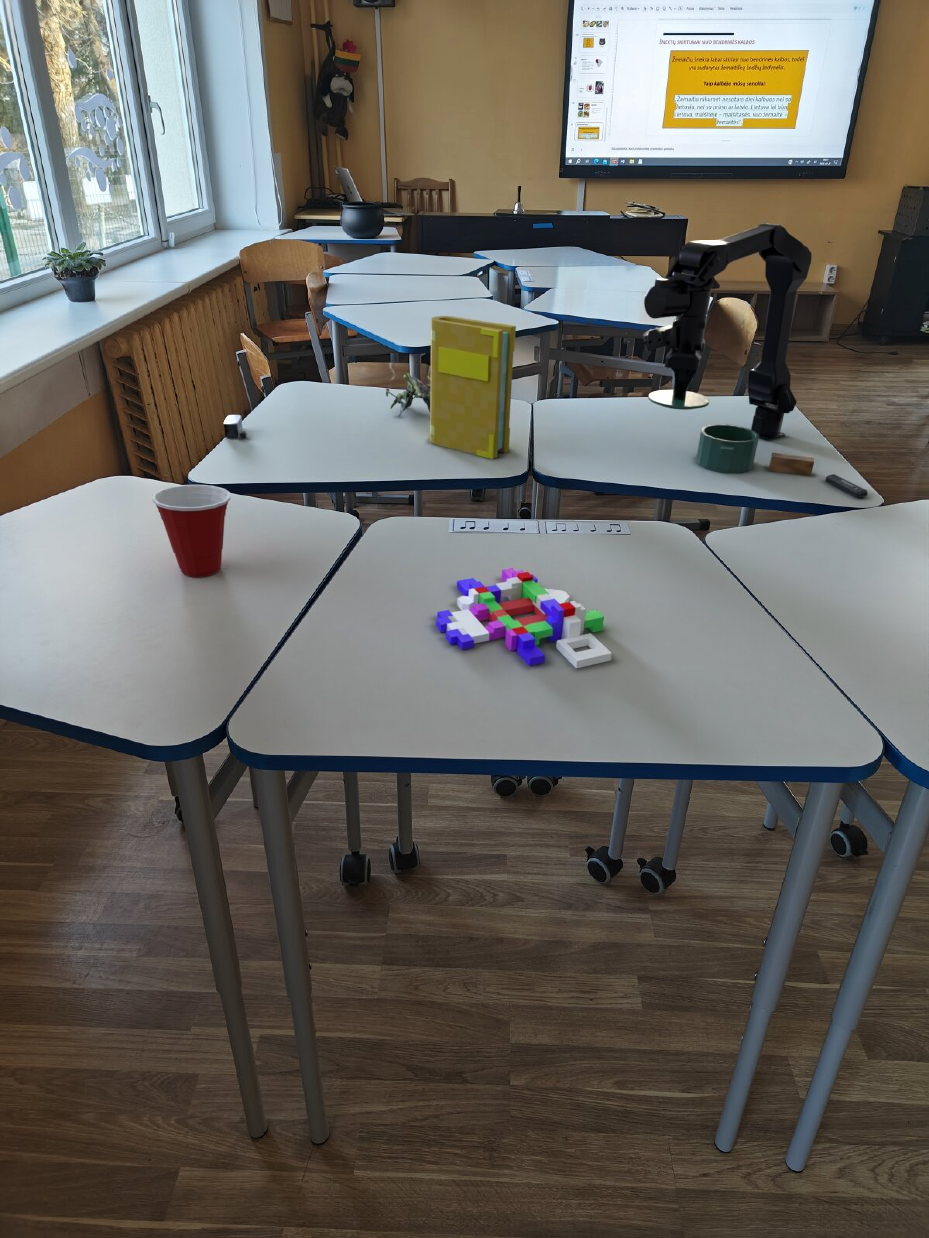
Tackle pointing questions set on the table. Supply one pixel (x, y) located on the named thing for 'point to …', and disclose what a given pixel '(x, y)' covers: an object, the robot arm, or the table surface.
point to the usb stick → (846, 486)
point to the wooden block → (791, 464)
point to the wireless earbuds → (234, 427)
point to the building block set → (524, 619)
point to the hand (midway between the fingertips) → (679, 395)
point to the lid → (678, 399)
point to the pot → (727, 448)
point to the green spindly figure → (412, 392)
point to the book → (471, 384)
